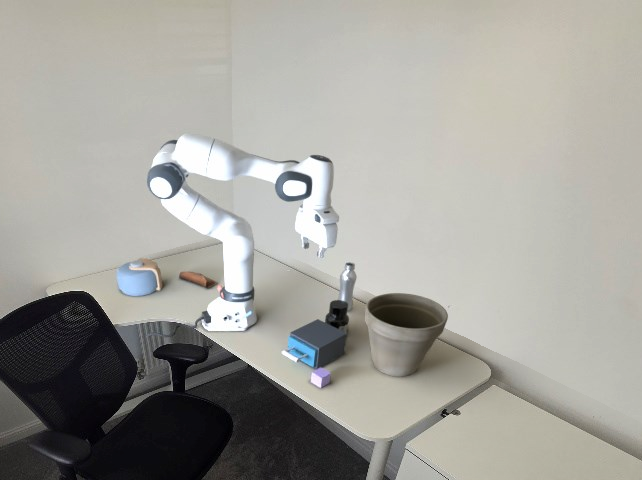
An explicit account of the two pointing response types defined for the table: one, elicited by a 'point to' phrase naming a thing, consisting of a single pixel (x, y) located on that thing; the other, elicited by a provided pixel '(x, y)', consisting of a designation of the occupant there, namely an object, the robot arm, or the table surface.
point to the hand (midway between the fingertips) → (312, 252)
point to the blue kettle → (139, 277)
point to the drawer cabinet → (322, 340)
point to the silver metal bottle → (347, 284)
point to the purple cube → (320, 377)
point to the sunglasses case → (197, 278)
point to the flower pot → (402, 330)
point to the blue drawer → (300, 351)
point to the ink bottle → (338, 315)
